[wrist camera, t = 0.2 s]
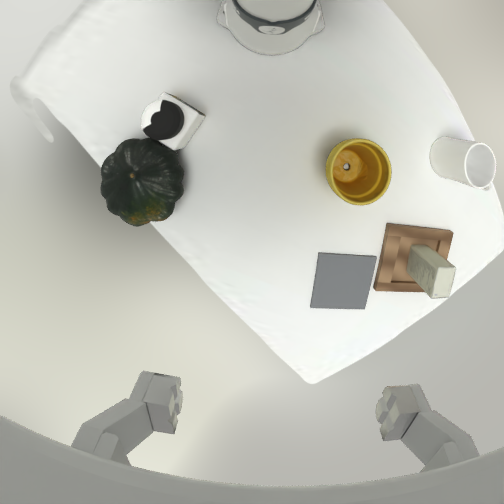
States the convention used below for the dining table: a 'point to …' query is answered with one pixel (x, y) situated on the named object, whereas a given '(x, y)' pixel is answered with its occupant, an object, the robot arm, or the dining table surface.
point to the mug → (464, 162)
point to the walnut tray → (406, 255)
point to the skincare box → (430, 271)
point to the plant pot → (358, 171)
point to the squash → (142, 181)
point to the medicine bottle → (171, 121)
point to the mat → (342, 281)
